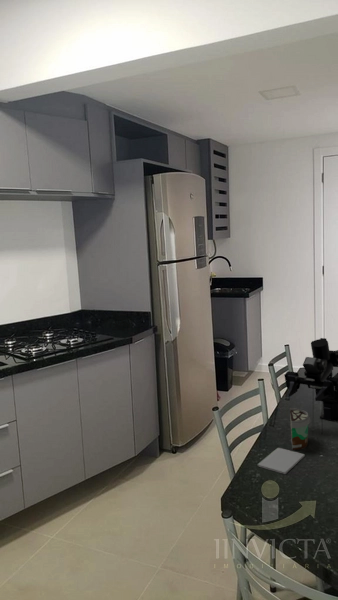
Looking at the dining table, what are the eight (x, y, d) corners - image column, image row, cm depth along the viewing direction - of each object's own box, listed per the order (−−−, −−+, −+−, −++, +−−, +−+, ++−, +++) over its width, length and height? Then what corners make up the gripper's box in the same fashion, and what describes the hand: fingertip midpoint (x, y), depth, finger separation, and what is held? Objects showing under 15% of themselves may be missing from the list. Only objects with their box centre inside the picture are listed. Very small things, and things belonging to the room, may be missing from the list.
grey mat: (278, 449, 151) (277, 447, 151) (304, 456, 145) (304, 454, 145) (257, 466, 141) (257, 464, 141) (285, 474, 135) (285, 472, 135)
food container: (313, 452, 147) (311, 422, 145) (292, 452, 148) (291, 421, 147) (309, 435, 159) (308, 407, 157) (290, 435, 160) (289, 407, 159)
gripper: (291, 349, 167) (271, 372, 156) (344, 354, 155) (326, 380, 144) (296, 376, 171) (277, 400, 160) (348, 383, 159) (331, 410, 148)
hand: (302, 397), depth 153 cm, fingers open, 9 cm apart
